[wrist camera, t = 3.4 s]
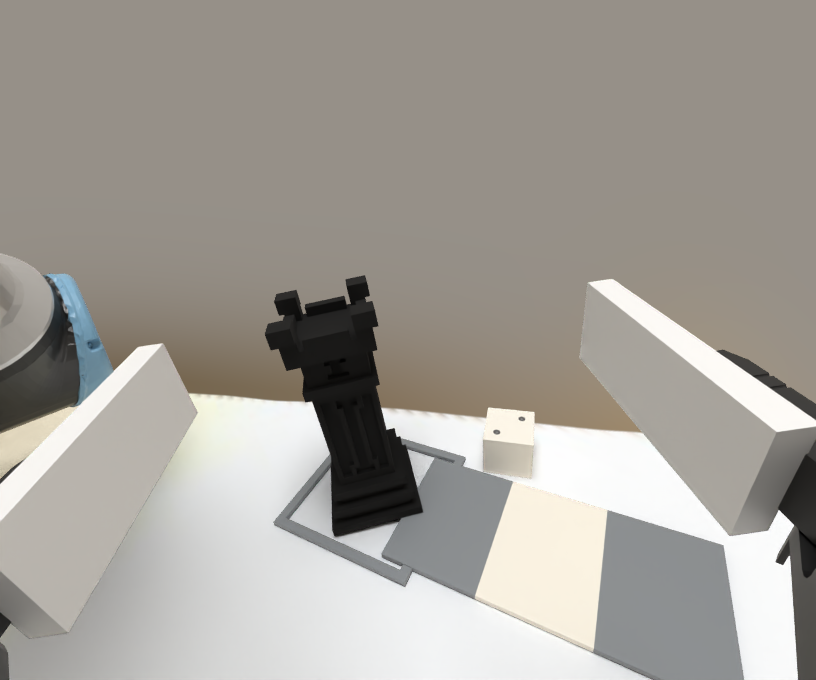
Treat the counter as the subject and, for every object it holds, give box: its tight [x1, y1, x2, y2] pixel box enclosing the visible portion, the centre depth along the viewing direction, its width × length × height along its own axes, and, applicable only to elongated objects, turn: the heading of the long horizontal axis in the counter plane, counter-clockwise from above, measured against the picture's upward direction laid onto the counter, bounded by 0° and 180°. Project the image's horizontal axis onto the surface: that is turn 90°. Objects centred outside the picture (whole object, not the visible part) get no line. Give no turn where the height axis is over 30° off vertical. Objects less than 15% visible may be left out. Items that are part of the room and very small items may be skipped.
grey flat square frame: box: [274, 438, 465, 586], centre depth 39 cm, size 14×14×1 cm
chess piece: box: [265, 276, 423, 536], centre depth 34 cm, size 8×8×20 cm
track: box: [382, 458, 744, 680], centre depth 32 cm, size 24×11×1 cm, turn 63°
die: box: [483, 408, 534, 479], centre depth 40 cm, size 4×4×5 cm
